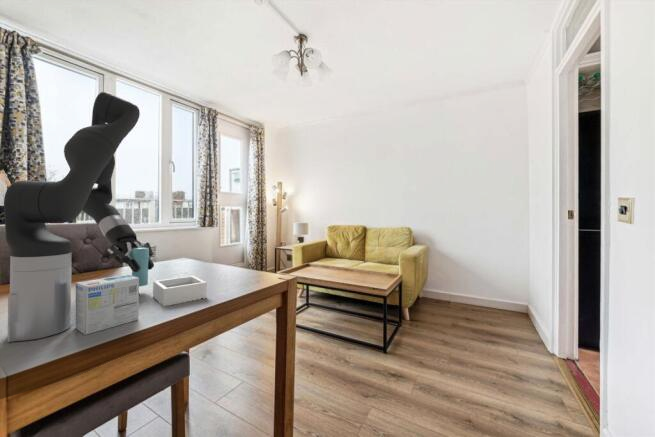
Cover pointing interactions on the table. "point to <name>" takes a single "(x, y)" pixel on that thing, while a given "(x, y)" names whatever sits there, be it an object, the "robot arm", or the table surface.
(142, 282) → the peg
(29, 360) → the table surface
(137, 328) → the table surface
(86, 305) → the light bulb box
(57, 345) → the table surface
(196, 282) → the hole box
